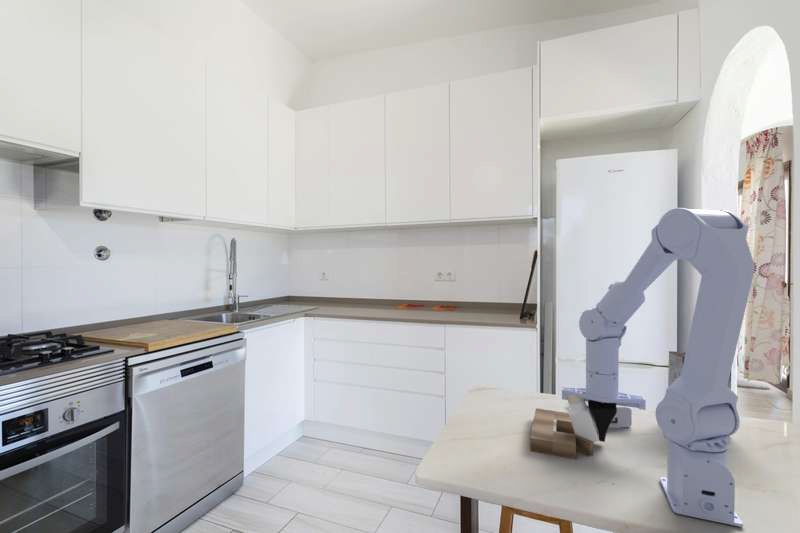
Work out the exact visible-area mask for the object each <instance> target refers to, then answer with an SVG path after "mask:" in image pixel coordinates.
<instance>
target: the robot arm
mask: <svg viewBox="0 0 800 533" xmlns="http://www.w3.org/2000/svg"><path fill="white" fill-rule="evenodd" d="M650 233H651V241H650V242H649V244H648V246H647V247H646V248H645V250H644V251H643V253H642V255H641V256H640V258H638V260H637V262H636V263H635V265H634V266H633V268H632V269H631V271H630V272H629V274H628V275H627V277H626V278H625V280H619V281H615V282H613V283H611V284H609V286H608V287H607V289H608V291H607V292H606V293H605V294H604V296H603V297H602V299H601V300H600V301H598V302H597V303H596V305H595V307H593V308H591V309H586V310H584V311H583V312H582V313H581V316H579V321H578V325H579V330H580V333H581V334H582V336H583V337H584V338H585V387H561V400H564V401H565V400H566V401H568V397H567V395H576V396H577V397H581V398H584V400H585V401H588V406H589V409H590V412H591V414H592V416H593V418H594V420H595V423H596V426H597V432H598V437H599V441H598V442H602V443H605V442H606V441H605V440H606V436H607V432H608V430H609V428H608V427H609V425H610V423H611V421H612V419H613V418H614V416H615V415H616V413H617V408H616V405H619V406H627V407H628V408H637V409H639V410H643V411H646V407H647V406H646V401H647V400H646V398H645V397H644V396H642V395H641V396H640V395H634V394H631V393H624V392H621V391H620V392H619V360H620V359H619V358H620V357H619V355H620V354H619V350H620V347H621V346H622V339H623V337H624V336H625V334H626V333H627V327H628V326H627V325H626V323H627V322H628V321H629V320H630V319H631V317H633V315H634V314H635V313H636V312H637V311H638V310H639V309H640V308H641V306H642V305H643V304H644V303H645V302H646V297H645V292H646V290H647V289H648V288H649V287H650V286H651V285H652V284H653V282H655V281H656V280H657V279H658V278H659V277H660V276H661V275H662V274H663V273H664V272H665V271H666V270H667V269H668V268H669V267H670V266H671V265H672V264H673V263H674V262H675V261H677V260H682V259H683V260H684V261H686V262H687V263H689V264H691V266H692V267H693V268H694V269H695V270H696V271H697V272H698V274H700V276H701V278H700V282H699V288H698V292H697V297H696V301H695V302H696V303H695V307H694V312H693V316H692V321H691V326H690V330H689V335H688V339H687V345H686V349H685V352H686V354H685V358H684V363H683V368H682V373H681V375H680V377H679V378H678V379H676V380H675V381H674V382H673V383H672V384H671V385H670V386H669V387H668V386H667V388H666V391H665V394H664V397H663V399H662V400H660V402H659V403H657V405H656V408H655V418H656V422H657V425H658V427H659V429H660V430H661V432H662V433H663V434H664V438H665V439H667V447H666V448H667V457H666V458H667V462H666V463H667V464H666V467H667V468H666V470H667V471H666V473H667V474H666V476H667V477H664V476H660V477H659V482H660V484H661V486H662V488H663V491H664V494H665V495H666V498H667V500H668V502H669V504H670V507H671V509H672V511H673V512H674V513H675V514H678V515H681V516H687V517H692V518H697V519H701V520H706V521H711V522H717V523H721V524H724V525H730V526H735V527H740V528H742V527H744V523H743V521H742V520H741V518H740V516H739V515H738V514H737V512H736V511H735V497H736V496H735V492H736V491H735V487H736V485H735V484H736V483H735V482H736V481H735V478H734V476H733V473H732V472H731V470H730V469H729V467H728V445H730V436H733V435H734V434H736V432H737V431H738V430H739V429H740V424H741V423H740V422H741V421H740V416H739V412H738V409H737V408H738V400H739V396H738V395H737V394H736V393H735V392H734V391H733V390H732V388H731V389H730V388H729V387H728V386H727V385H728V381H729V377H730V372H731V373H732V367H733V363H734V358H735V355H736V351H737V347H738V343H739V337H740V334H741V330H742V325H743V321H744V316H745V312H746V309H747V305H748V304H747V303H748V300H749V296H750V292H751V288H752V282H753V280H754V276H755V275H754V274H755V263H754V260H753V256H752V252H751V251H750V250H751V249H750V246H749V243H748V241H747V237H748V233H749V226H748V225H747V224H746V223H745V221H743V220H742V219H741V218H740V217H738V216H737V215H736V214H735V213H733V212H732V211H729V210H726V209H715V210H710V209H693V208H692V209H689V208H685V207H675V208H673V209H671V210H668V211H667V212H665V213H664V214H662V216H661V218H660V219H659V221H658V224H656V225H655V226H654V227H653V228H652V229H651V232H650ZM580 390H581V391H580ZM578 392H583V394H581V393H578Z"/></svg>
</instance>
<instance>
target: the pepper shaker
mask: <svg viewBox="0 0 800 533" xmlns="http://www.w3.org/2000/svg"><path fill="white" fill-rule="evenodd" d="M580 391H581V390H580ZM578 393H581V394H583V392H578ZM567 397H568V400H567V402H568V404H569V408H568V413H569V416H570V419H571V422H572V425H573V429H574V432H575V434H576V435H578V436H581V437H583V438H586V439H588V440H591V441H593V443H597V442H600V441H599V435H598V429H597V428H596V425H595V422H594V419H593V416H592V414H591V412H590V409H589V406H588V405H586V403H585V400H584V398H581V397H577V396H576V395H567Z"/></svg>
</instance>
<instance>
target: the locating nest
mask: <svg viewBox="0 0 800 533" xmlns="http://www.w3.org/2000/svg"><path fill="white" fill-rule="evenodd" d="M529 451H530V452H533V453H538V454H539V453H540V454H543V455H544V454H545V455H551V456H557V457H562V458H567V459H574V460H577V452H579V453H581V454H584V455H587V456H589V457H591V456H593V455H594V442H593V441H591V440H588V439H586V438H583V437H581V436H578V435H576V434H575V432H574V429H573V425H572V422H571V419H570V416H569V412H565V411H556V410H548V409H543V408H542V409H541V408H535V411H534V416H533V422H532V428H531V433H530V437H529Z"/></svg>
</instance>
